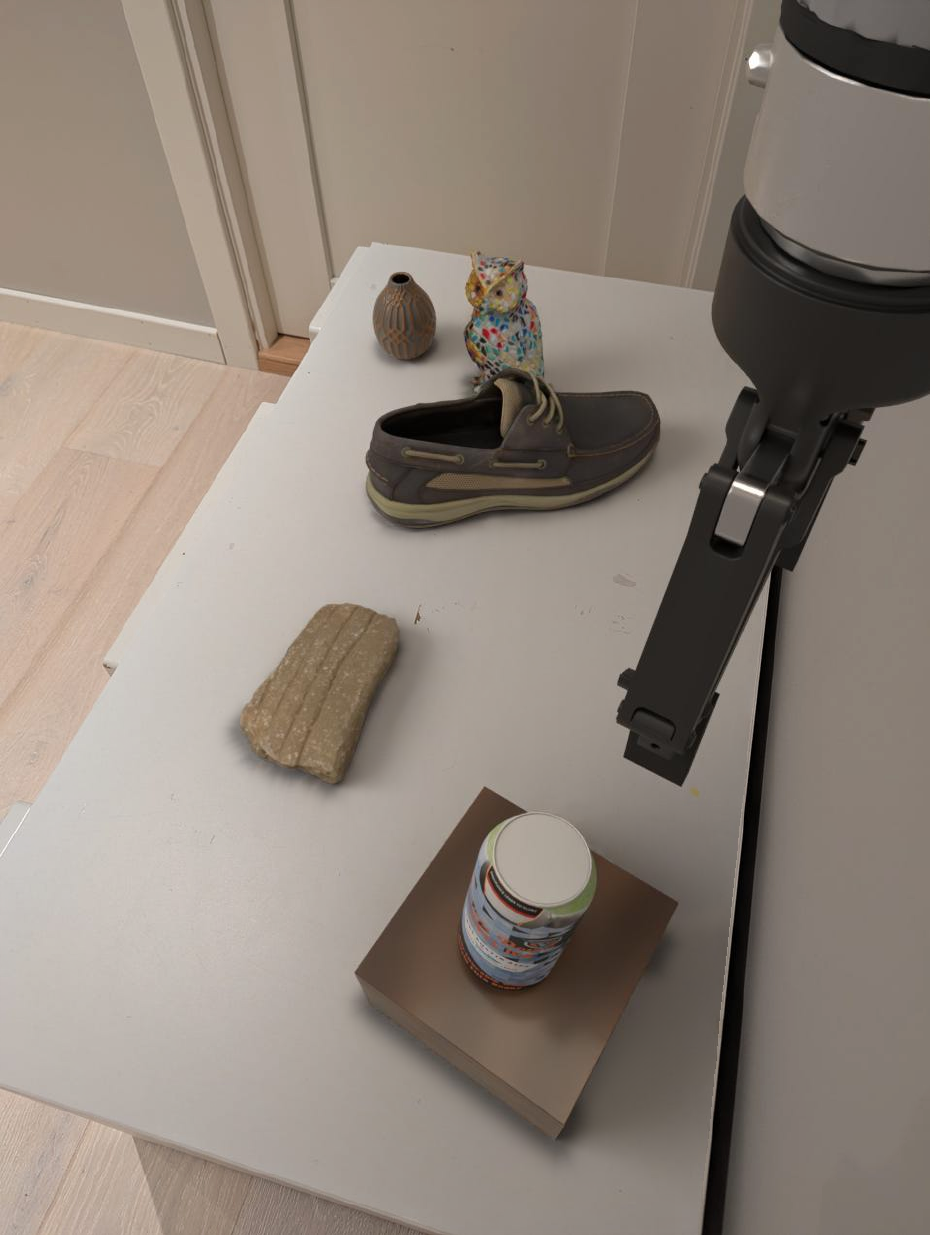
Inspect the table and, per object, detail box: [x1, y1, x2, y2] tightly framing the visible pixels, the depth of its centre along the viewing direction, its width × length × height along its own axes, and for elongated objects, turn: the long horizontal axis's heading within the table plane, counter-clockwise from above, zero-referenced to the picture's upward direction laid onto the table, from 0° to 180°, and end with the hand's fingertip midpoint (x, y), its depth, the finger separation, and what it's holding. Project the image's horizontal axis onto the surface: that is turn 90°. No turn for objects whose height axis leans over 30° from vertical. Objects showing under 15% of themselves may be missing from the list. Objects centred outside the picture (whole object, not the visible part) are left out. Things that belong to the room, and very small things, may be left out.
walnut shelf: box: [354, 785, 680, 1141], centre depth 54 cm, size 14×14×8 cm
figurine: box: [463, 249, 545, 396], centre depth 86 cm, size 9×9×15 cm
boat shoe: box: [364, 368, 662, 529], centre depth 80 cm, size 11×29×11 cm, turn 110°
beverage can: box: [457, 811, 597, 991], centre depth 46 cm, size 6×7×12 cm
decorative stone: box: [239, 602, 400, 785], centre depth 69 cm, size 10×16×4 cm, turn 162°
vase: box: [372, 271, 437, 361], centre depth 93 cm, size 7×7×9 cm
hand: (716, 652), depth 40 cm, fingers open, 13 cm apart
